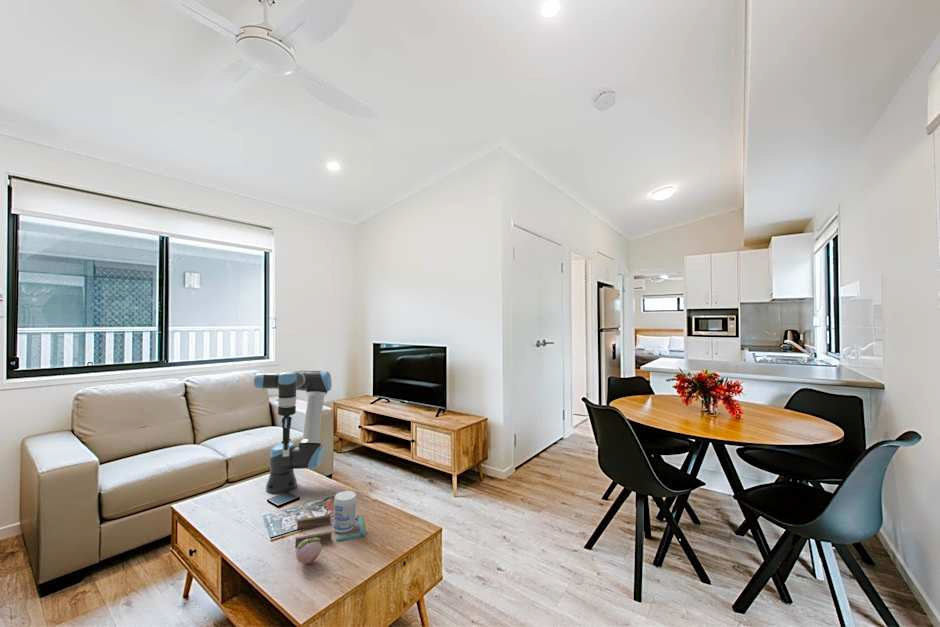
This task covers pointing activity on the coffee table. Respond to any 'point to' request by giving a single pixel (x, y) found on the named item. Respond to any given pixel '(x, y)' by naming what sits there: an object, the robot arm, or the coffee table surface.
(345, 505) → the supplement tub
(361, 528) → the frame
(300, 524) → the channel walls
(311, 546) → the decorative fruit
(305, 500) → the coffee table surface
